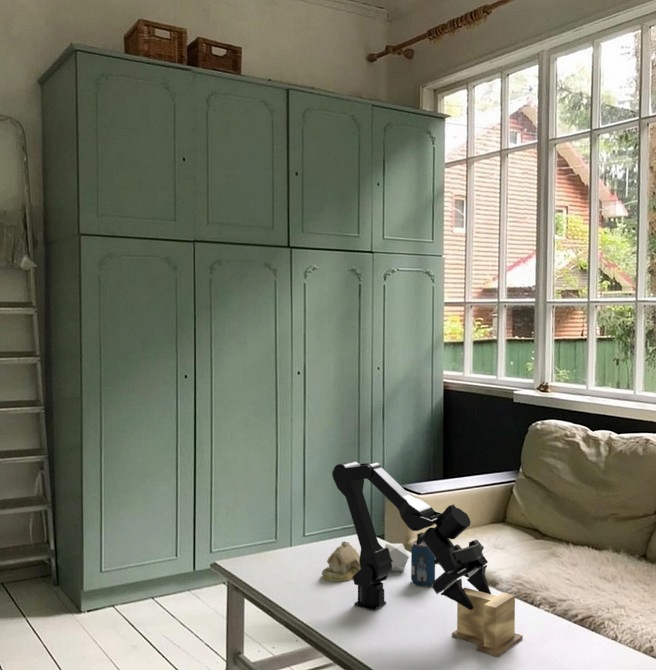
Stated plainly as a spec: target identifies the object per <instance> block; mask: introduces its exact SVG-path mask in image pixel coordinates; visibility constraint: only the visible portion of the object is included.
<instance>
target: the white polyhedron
mask: <svg viewBox="0 0 656 670" xmlns="http://www.w3.org/2000/svg"><path fill="white" fill-rule="evenodd" d="M386 547H387V548H388V549H389V553H390V557H391V559H392V560H393V562H391V563H392V569H391V572H404V570H405V569H406V566H407V563H408V560H409V558H410V556H409V554H408V552H407V550H406V548H405V546H404V543H385V546H384V548H386Z"/></svg>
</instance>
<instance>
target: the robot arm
mask: <svg viewBox="0 0 656 670" xmlns="http://www.w3.org/2000/svg"><path fill="white" fill-rule="evenodd" d="M331 475H332V480H333V482H334V484H335V485H336V488H337V490H338V491H339V492H340V493H341V494H342V495H343V496H344V497H345V499H346V503H347V507H348V510H349V513H350V516H351V520H352V523H353V526H354V529H355V533H356V536H357V540H358V543H359V546H360V552H359V556H360V559H359V562H360V568H361V569H360V570H359V571H358V572H357V573H356V574H355V575H354V576H353V578H352V580H353V584H354V586H355V585H356V586H357V601H355V602H354V606H355V607H359V608H364V609H367V610H370V611H375V610H377V609H379V608H381V607H383V606H384V605H386V604H387V601H385V589H384V582H383V581H386V580H387V578H388V577H389V574H390V573H391V572H392V571H391V569H392V563H391V562H393V560H392V559H391V557H390V553H389V549H388V548H387V547H386V548H385V547H383V546H382V545H381V544H380V543H379V541H378V537H377V534H376V531H375V528H374V524H373V520H372V517H371V514H370V511H369V508H368V505H367V502H366V499H365V495H364V491H363V490H364V484H365V479H366V480H368V481H369V482H370V483H371V485H373V486H374V487H375V488H376V489H377V491H379V492H380V493H381V494H382V495H383V496H384V497H385V498H386V499H387V500H388V501H389V502H390V503H391V504H393V506H394V507H395V508H396V510H397V511H398V513H399V515H400V518H401V519H402V521H403V522H404V524H405V525H406V526H407V528H408V529H409V530H411V531H414V532H419V531H421V530H424V529H426V528H427V529H426V530H424V531H423V532H419V533H417V535H416V536H417V537H416V541H417V542H416V544H417V545H420V544H422V543H425V544H426V546H427V547H428V549H429V550H430V551H431V553H432V554H433V556H434V557H435V560H434V561H433V562H434V563H435V565H438V564H439V565H440V567H441V569H442V570H443V571H444V572H443V573H442V574H440V575H439V576H437V578H435V581H433V582H432V585H431V586H432V587H431V588H432V590H433V591H434V593H435V594H436V595H438V594H440V595H441V596H445V597H447V598H449V599H450V600H452V601H454V602H456V604H457V603H459V604H461V605H462V606H464V607H466V608H467V609H469V610H472V609H473V608H474V607H473V605H472V603H471V601H470V599H469V598H468V596H467V594H466V593H465V591H464V590H463V588H464V587H463V581H462V577H463V576H464V577H466V578H467V579H466V581H467V582H468V583H470V584H471V586H472V587H474V588H475V590H476V591H480V592H484V593H488V594H491V595H492V593H491V590H490V587H489V584H488V580H487V578H486V569H487V567H488V563H489V561H488V560H487V558H486V557H485V556H484V554H483V553H484V552H483V551H484V546H483V544H481V542H480V541H479V540H478V539H474V540H471V541H469V542H468V546H466V547H463V548H462V547H461V545H459V544H458V543H457V544H455V545H454V543H453V542H452V541H451V540H455V539H457V537H459V536H460V535H461V534H462V533H463V532H465V530H467V529H468V528H469V527H470V526H471V519H470V517H469V515H468V513H467V512H464V511H463V510H462V509H461V508H459V507H457V506H455V504H450V505H448V506H447V507H446V508H445V510H444V511H443V512H440V511H438V510H435V509H433V507H432V506H431V505H429V504H428V503H426V502H425V501H424V500H422V499H419V498H418V497H417V498H416V497H414V496H412V495H411V494H410V493H409V492H407V490H405V489H404V488H403V487H402V486H401V485H400V483H398V482H397V481H396V480H395V479H394V478H393V477H392V476H391V475H390V474H389V473H388V472H387V471H386V470H385V469H384V468H383V467H382V465H381V464H380V463H379V462H376V461H373V462H365V463H359V462H357V461H355V460H351V461H347V462H346V461H345V462H343V463H338V464H337V465H335V466H334V468H333V469H332V472H331ZM434 525H436V526H435V527H432V526H434Z"/></svg>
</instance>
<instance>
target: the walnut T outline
mask: <svg viewBox="0 0 656 670" xmlns="http://www.w3.org/2000/svg"><path fill="white" fill-rule="evenodd" d="M451 636H452V637H453V638H458V639H460V640H464V641H466V642H470V643H472V644H476V645H478V646H476V651H478V652H481V653H484V654H486V655H490V656H494V657H496V658H499V657H500V656H501V654H502V655H503V654H505V653H506V652H507V651H508V650H510V649H511V648H513V645H514V646H515V645H516V644H518V643H519V642H520V641H522V640H523V639H522V638H523V637H524V635H523V634H519V633H515V636H514V637H512V638H511V639H510V640H508V641H507V642H505V643H504V644H503V645H501V646H500V647H498V648H497V649H496V650H494V649H491V648H488V647H485V646H484V640H483V639H480V638H476V637H473V636H470V635H467V634H463V633H460V632H457V629H456V630H454V631H453V632H452V633H451ZM521 639H522V640H521ZM518 641H519V642H518ZM517 642H518V643H517ZM510 647H511V648H510ZM509 648H510V649H509ZM506 650H507V651H506ZM505 651H506V652H505Z"/></svg>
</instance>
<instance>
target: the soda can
mask: <svg viewBox="0 0 656 670" xmlns="http://www.w3.org/2000/svg"><path fill="white" fill-rule="evenodd" d="M416 542H417V540H414V541H413V544H412V547H411V549H410V550H411V551H410V552H411V553H410V554H411V557H410V558H411V560H410V561H411V562H410V573H411V574H410V579H411V582H412V583H413V585H414V584H415V585H414V586H416V587H421V588H428V587H431V586H432V582H433V581H435V580H436V564H435V563H434V562H433V561H434V560H436V558H435V557H434V556H433V554H432V553H431V551H430V550H429V549H428V547H427V546H426V544H425V543H422V544H420V545H417V544H416Z"/></svg>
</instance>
